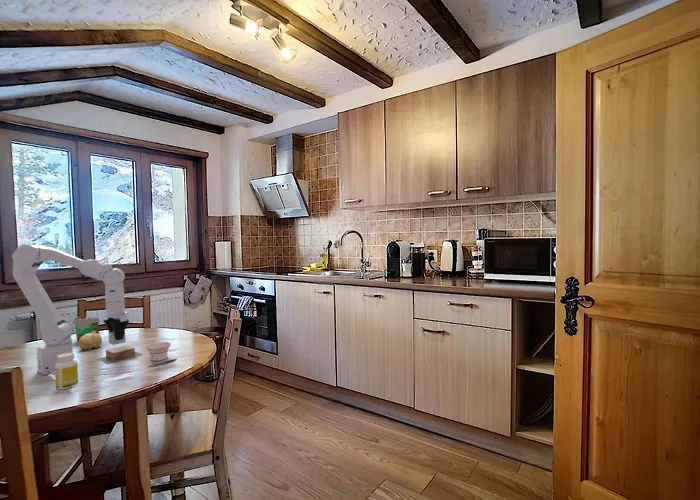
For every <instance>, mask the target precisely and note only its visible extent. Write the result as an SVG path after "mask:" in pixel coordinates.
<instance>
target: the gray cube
mask: <svg viewBox="0 0 700 500" xmlns="http://www.w3.org/2000/svg"><path fill="white" fill-rule="evenodd" d="M107 334H108V344H109V345H112V346H115V345H119V344H124V343H126V342H127V341H126V331H125V332H124V337H123V339H121V340H116V339H115V335H114V331H113V332H109V331H108V333H107Z"/></svg>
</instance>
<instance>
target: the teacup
mask: <svg viewBox="0 0 700 500" xmlns="http://www.w3.org/2000/svg"><path fill="white" fill-rule="evenodd" d="M171 345H172V343H171V342H167V341H159V342H154V343H153V342H152V343H150V344H147V345H146V347H145V348H146V350H147V352H148V354H149V356H150V361H152V362H159V361H160V362H161V361H163V360H166V359H167V358H169V356H168V351H169V349H170V347H171ZM177 360H178V358H173V359H170V360H167V361H164V362H161V363H160V362H159V363H155V364H153V365H150V366H148V368H157V367H161V366H162V367H163V366H167V365H170V364H172V363H174V362H176V361H177Z"/></svg>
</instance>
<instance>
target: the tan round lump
mask: <svg viewBox="0 0 700 500" xmlns="http://www.w3.org/2000/svg"><path fill="white" fill-rule="evenodd" d="M102 341H103V339H102V336H101V335H100V334H99V333H98V334H97V333H96V331H94V332H93V331H92V332H91V333H89V334H85V335H83V336H82V337H81V338H80V339H79V341H77V342H78V343H77V344H78V346H79V348H80V349H81V350H83V351H91V350H93V348H94V349H97V348H99V347H100V346H101V344H102Z"/></svg>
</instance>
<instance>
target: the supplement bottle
mask: <svg viewBox="0 0 700 500" xmlns="http://www.w3.org/2000/svg"><path fill="white" fill-rule="evenodd" d="M57 360H58V361H59V362H58V363H57V364H56V365H55V370H54V378H55V389H56V390H59V391H60V390H61V391H62V390H69V389H71V388H73V386H72V385H76V384H77V383H78V382H79V369H78V361H77V360H76V359H75V353H74V352H73V353H65V354H61V355H58V356H57Z"/></svg>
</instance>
